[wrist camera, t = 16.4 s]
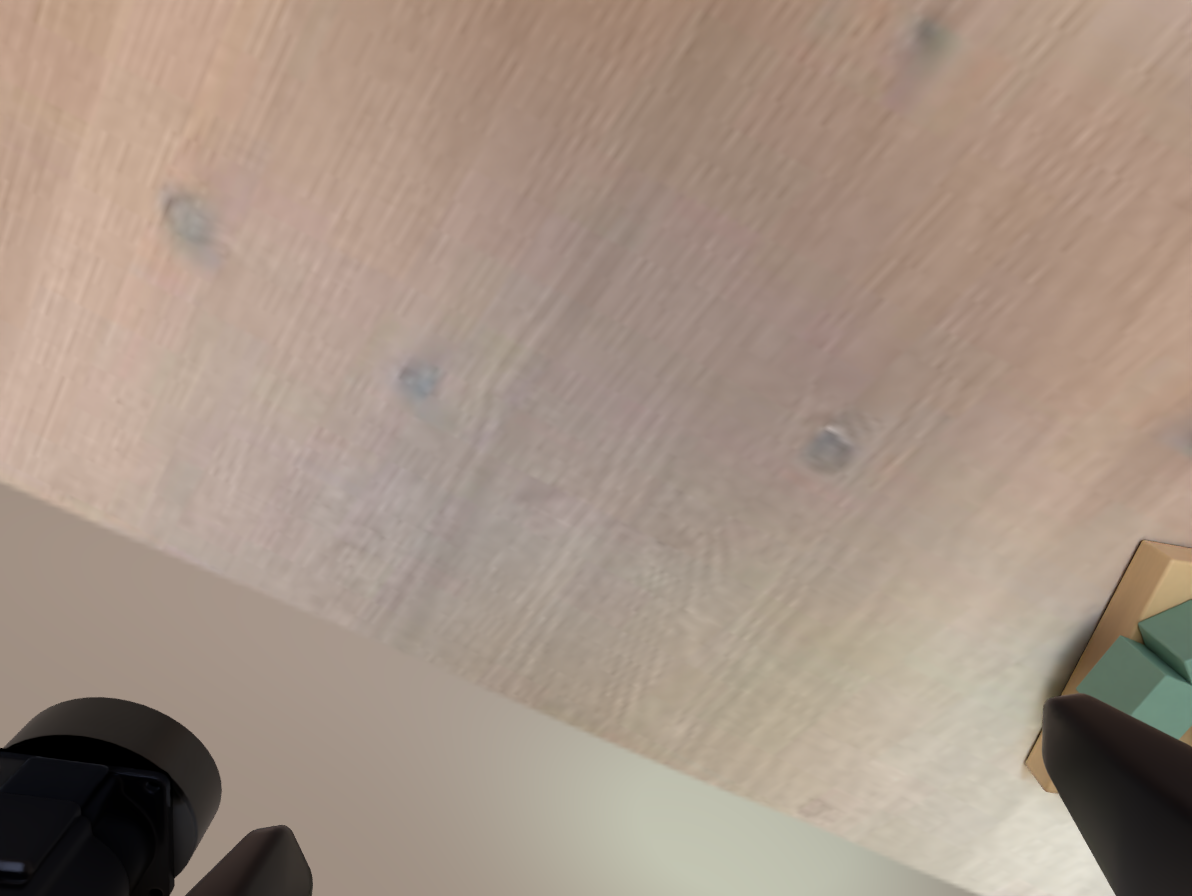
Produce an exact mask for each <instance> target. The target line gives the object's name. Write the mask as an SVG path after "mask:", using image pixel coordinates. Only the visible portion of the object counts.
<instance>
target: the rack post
mask: <svg viewBox="0 0 1192 896" xmlns="http://www.w3.org/2000/svg"><path fill="white" fill-rule="evenodd" d="M1191 599H1192V548H1186V547H1180V546H1175V545H1169V544H1163V543H1158V542H1152V541H1146V540H1144V541H1142V542H1141V544H1140V546H1139V548H1138V550H1137V552H1136V553H1135V555H1134V557H1133V559H1132V561H1131V563H1130V565H1129V567H1128V569H1127V571H1126V572H1125V574H1124V576H1123V578H1122V580H1121V582H1120V584H1119V586H1118V588H1117V590H1116V591H1115V593H1114V595H1113V597H1112V599H1111V601H1110V603H1109V605H1108V607H1107V609H1106V610H1105V612H1104V614H1103V616H1102V618H1101V620H1100V622H1099V624H1098V626H1097V628H1096V629H1095V631H1094V633H1093V635H1092V637H1091V639H1090V641H1089V643H1088V645H1087V647H1086V648H1085V650H1084V652H1083V654H1082V656H1081V658H1080V660H1079V662H1078V664H1077V666H1076V667H1075V669H1074V671H1073V673H1072V675H1071V677H1070V679H1069V681H1068V683H1067V685H1066V686H1065V688H1064V690H1063V692H1062V694H1061V696H1063V695H1070V694H1076V693H1079V692H1078V691H1077V690H1076V687H1077V686H1078V685H1079V684H1080V683H1081V681H1082V680H1083V679H1084V678H1085V677H1086V675H1087V674H1088V673H1089V672H1090V671H1091V669H1092V668H1093V667H1094V666H1095V665H1096V663H1097V662H1098V661H1099V660H1100V659H1101V657H1102V656H1103V655H1104V654H1105V653H1106V651H1107V650H1108V649H1109V648H1110V647H1111V645H1112V644H1113V643H1114V642H1115V641H1116V639H1117V638H1118V637H1119V636H1120V635H1121V636H1124V637H1127V638H1129V639H1131V640H1134V641H1136V642H1139V643H1141V644H1143V645H1145V643H1144V640H1143V637H1142V634H1141V632H1140V629H1139V626H1138V623H1139V622H1141V621H1143V620H1145V619H1148V618H1150V617H1152V616H1154V615H1157V614H1159V613H1161V612H1164V611H1166V610H1168V609H1171V608H1173V607H1175V606H1177V605H1180V604H1182V603H1184V602H1187V601H1189V600H1191ZM1179 740H1180V741H1182V742H1184V743H1186V744H1188V745H1190V746H1192V726H1191V727H1190V728H1189V729H1188V730H1187V731H1186V732H1185V733H1184V735H1183V736H1182V737H1181V738H1180V739H1179ZM1026 766H1027V768H1028V769H1029V770H1030V772H1031V773H1032V774H1033V776H1034V777H1035V778H1036V780H1037V781H1038V783H1039V784H1040V785H1041V787H1042V788H1043V789H1044V790H1045V791H1046V792H1051V793H1058V791H1057V789H1056V788H1055V786H1054V784H1053V782H1052V780H1051V779H1050V777H1049V775H1048V773H1047V771H1046V768H1045V765H1044V762H1043V758H1042V732H1041V734H1040V736H1039V738H1038V740H1037V742H1036V744H1035V745H1034V747H1033V749H1032V751H1031V753H1030V755H1029V757H1028V759H1027V761H1026ZM1058 794H1059V793H1058Z"/></svg>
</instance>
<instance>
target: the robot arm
mask: <svg viewBox="0 0 1192 896" xmlns="http://www.w3.org/2000/svg"><path fill="white" fill-rule="evenodd" d="M1042 758H1043V762H1044V765H1045V768H1046V771H1047V773H1048V775H1049V777H1050V779H1051V780H1052V782H1053V784H1054V786H1055V788H1056V789H1057V791H1058V793H1059V795H1060V797H1061V798H1062V800H1063V802H1064V804H1065V806H1066V807H1067V809H1068V811H1069V813H1070V815H1071V816H1072V818H1073V820H1074V822H1075V823H1076V825H1077V827H1078V829H1079V831H1080V832H1081V834H1082V836H1083V838H1084V840H1085V841H1086V843H1087V845H1088V847H1089V849H1090V850H1091V852H1092V854H1093V856H1094V857H1095V859H1096V861H1097V863H1098V865H1099V866H1100V868H1101V870H1102V872H1103V874H1104V875H1105V877H1106V879H1107V881H1108V883H1109V884H1110V886H1111V888H1112V890H1113V891H1114V893H1115V895H1116V896H1192V746H1190V745H1188V744H1186V743H1184V742H1182V741H1180V740H1178V739H1176V738H1174V737H1172V736H1170V735H1168V734H1166V733H1164V732H1162V731H1160V730H1158V729H1156V728H1154V727H1152V726H1150V725H1148V724H1146V723H1144V722H1142V721H1140V720H1138V719H1136V718H1134V717H1132V716H1130V715H1128V714H1126V713H1124V712H1123V711H1121V710H1119V709H1117V708H1115V707H1113V706H1111V705H1109V704H1107V703H1105V702H1103V701H1101V700H1099V699H1097V698H1095V697H1092V696H1090V695H1087V694H1084V693H1076V694H1070V695H1063V696H1057V697H1052V698H1049V699H1047V701H1046V702H1045V704H1044V708H1043V727H1042ZM174 886H175V880H174V839H173V798H172V778H171V776H170V775H169V774H168V772H166V771H164V770H162V769H158V768H152V767H144V766H136V765H129V764H121V763H113V762H106V761H98V760H90V759H83V758H75V757H67V756H60V755H52V754H44V753H37V752H29V751H21V750H14V749H6V748H0V896H170V894H171V892H172V891H173V889H174ZM312 888H313V882H312V874H311V870H310V868H309V866H308V863H307V861H306V860H305V857H304V855H303V853H302V851H301V849H300V847H299V845H298V843H297V841H296V838H295V836H294V834H293V832H292V830H291V829H290V828H288V827H287V826H285V825H278V826H272V827H266V828H260V829H256V830H253V831H252V832H250V833H249V834H247V835H246V836H245V837H244V838H243V839H242V840H241V841H240V842H239V843H238V844H237V845H236V846H235V847H234V848H233V849H232V850H231V851H230V852H229V853H228V854H227V855H226V856H225V857H224V858H223V859H222V860H221V861H220V862H219V863H218V864H217V865H216V866H215V867H214V868H213V869H212V870H211V871H210V872H209V873H208V874H207V875H206V876H205V877H204V878H203V879H202V880H200V881H199V882H198V883H197V884H196V885H195V886H194V887H193V888H192V889H191V890H190V891H189V892H188V893H187V894H186V895H185V896H312Z"/></svg>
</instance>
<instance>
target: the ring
mask: <svg viewBox="0 0 1192 896" xmlns="http://www.w3.org/2000/svg"><path fill="white" fill-rule="evenodd" d="M1138 626H1139V629H1140V632H1141V634H1142V637H1143V640H1144V643H1145V645H1143V644H1141V643H1139V642H1136V641H1134V640H1131V639H1129V638H1127V637H1124V636H1121V635H1120V636H1119V637H1118V638H1117V639H1116V641H1115V642H1114V643H1113V644H1112V645H1111V647H1110V648H1109V649H1108V650H1107V651H1106V653H1105V654H1104V655H1103V656H1102V657H1101V659H1100V660H1099V661H1098V662H1097V663H1096V665H1095V666H1094V667H1093V668H1092V669H1091V671H1090V672H1089V673H1088V674H1087V675H1086V677H1085V678H1084V679H1083V680H1082V681H1081V683H1080V684H1079V685H1078V686H1077V687H1076V690H1077V691H1078V692H1079V693H1084V694H1087V695H1090V696H1092V697H1095V698H1097V699H1099V700H1101V701H1103V702H1105V703H1107V704H1109V705H1111V706H1113V707H1115V708H1117V709H1119V710H1121V711H1123V712H1124V713H1126V714H1128V715H1130V716H1132V717H1134V718H1136V719H1138V720H1140V721H1142V722H1144V723H1146V724H1148V725H1150V726H1152V727H1154V728H1156V729H1158V730H1160V731H1162V732H1164V733H1166V734H1168V735H1170V736H1172V737H1174V738H1176V739H1178V740H1179V739H1180V738H1181V737H1182V736H1183V735H1184V733H1185V732H1186V731H1187V730H1188V729H1189V728H1190V727H1191V726H1192V599H1191V600H1189V601H1187V602H1184V603H1182V604H1180V605H1177V606H1175V607H1173V608H1171V609H1168V610H1166V611H1164V612H1161V613H1159V614H1157V615H1154V616H1152V617H1150V618H1148V619H1145V620H1143V621H1141V622H1139V623H1138Z"/></svg>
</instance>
